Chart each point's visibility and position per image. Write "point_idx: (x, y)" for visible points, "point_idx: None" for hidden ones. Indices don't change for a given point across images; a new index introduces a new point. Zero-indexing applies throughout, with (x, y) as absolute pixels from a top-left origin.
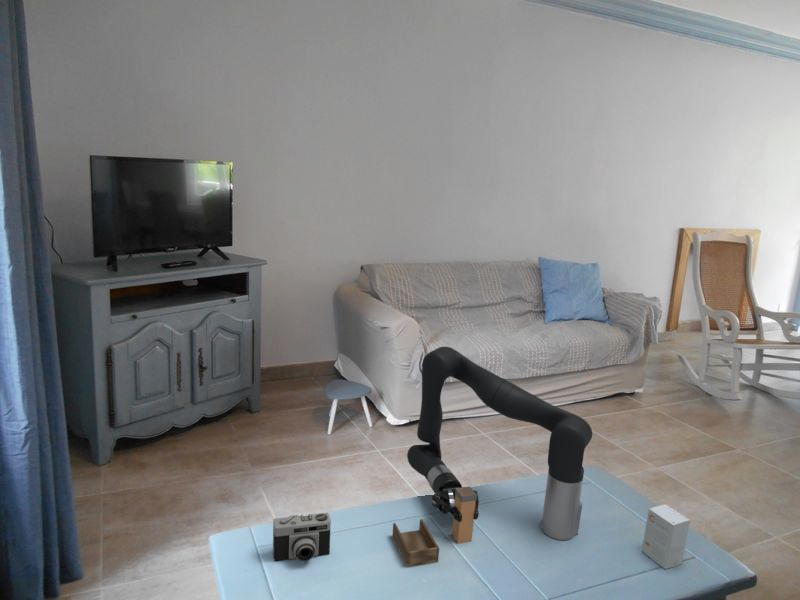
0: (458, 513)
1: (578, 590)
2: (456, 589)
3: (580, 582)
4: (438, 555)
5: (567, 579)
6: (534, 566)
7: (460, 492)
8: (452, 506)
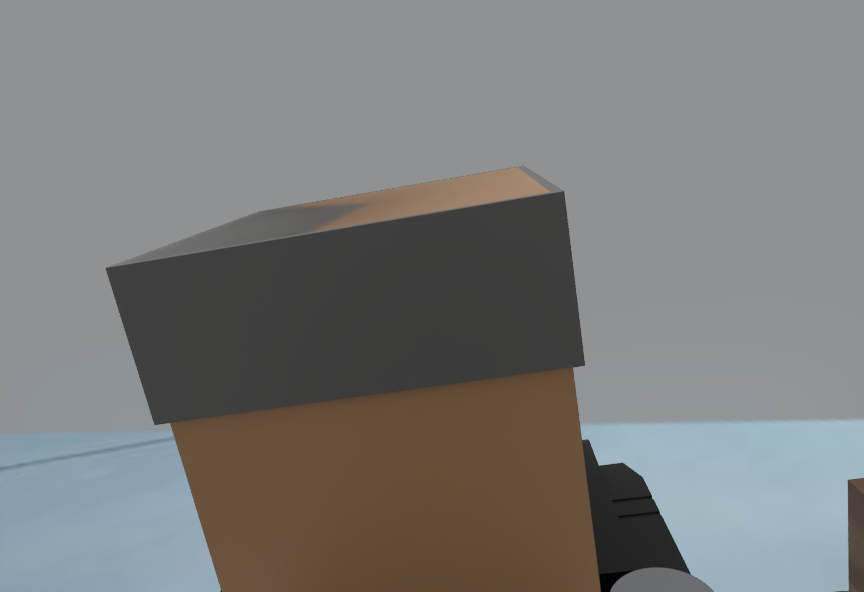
0: (594, 455)
1: (168, 439)
2: (696, 436)
3: (113, 463)
4: (850, 544)
5: (140, 474)
6: (184, 535)
7: (502, 178)
8: (678, 574)
